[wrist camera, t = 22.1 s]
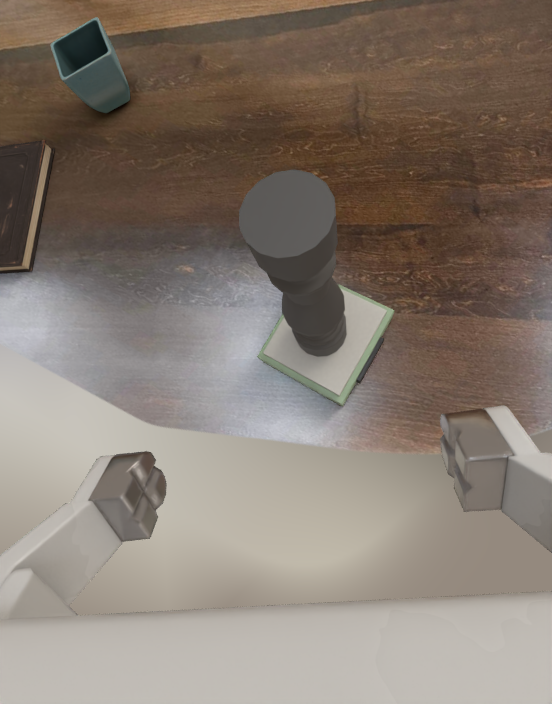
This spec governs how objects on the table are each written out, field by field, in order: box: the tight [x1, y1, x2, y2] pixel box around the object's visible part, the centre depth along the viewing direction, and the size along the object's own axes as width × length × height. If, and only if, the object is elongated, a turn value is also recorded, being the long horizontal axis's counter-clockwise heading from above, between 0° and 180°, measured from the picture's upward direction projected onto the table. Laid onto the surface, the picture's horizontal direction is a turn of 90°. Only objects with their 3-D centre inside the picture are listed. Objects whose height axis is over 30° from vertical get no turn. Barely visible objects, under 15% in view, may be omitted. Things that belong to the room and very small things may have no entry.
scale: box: [257, 284, 394, 407], centre depth 47 cm, size 13×12×4 cm
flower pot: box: [50, 17, 130, 113], centre depth 62 cm, size 9×9×9 cm
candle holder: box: [239, 170, 347, 357], centre depth 34 cm, size 6×6×25 cm
